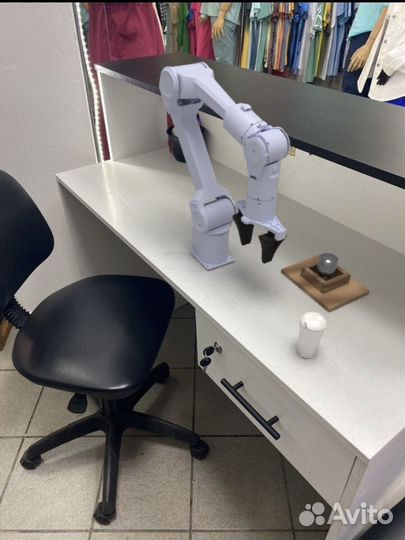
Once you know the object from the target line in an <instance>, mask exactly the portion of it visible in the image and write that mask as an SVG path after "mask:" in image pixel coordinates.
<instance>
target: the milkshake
mask: <svg viewBox="0 0 405 540" xmlns="http://www.w3.org/2000/svg"><path fill="white" fill-rule="evenodd" d="M299 318H300V319H299V330H298V332H299V333H298V342H297V354H298V355H299V356H300V357H301V358H304V359H306V360H307V359H313V357H314V356H315V355H316V353H317V350H318V348H319V345H320V342H321V339H322V337H323V335H324V332H325V330H326V328H327V326H328V323H327V322H328V321H327V320H326V318H325V316H323V315H322V314H321V313H319V312H318V311H317V312H316V311H307V312H305V313H303V314H302V315H300V317H299Z"/></svg>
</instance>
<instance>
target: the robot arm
mask: <svg viewBox="0 0 405 540" xmlns="http://www.w3.org/2000/svg"><path fill="white" fill-rule="evenodd" d="M214 73H215V72H214V69H212V68H210V67H209V65H208V64H207V63H205V62H204V61H199V62H196V63H190V64H183V65H175V66H165V67H164V68H162V70H161V73H160V75H159V76H160V77H159V85H158V89H159V92H160V94H161V95H160V96H161V98H162V101H163V104H164V107H165V109H166V112H167V114H168V115H170V118H171V120H172V123H173V126H174V129H175V133H176V135H177V139H178V142H179V144H180V147H181V148H180V149H181V150H182V154H183V157H184V159H185V162H186V165H187V169H188V171H189V175H190V177H191V180H192V184H193V186H194V189H195V192H194V194H193V196H192V198H191V200H190V201H189V203H188V204H189V205H188V206H189V210H190V218H191V223H192V225H193V228H192V249H189V252H190V254H191V255H192V256H193V257H194V258H195V259H196V260H197V261H198V262H199V263H200V264H201V265H202V266H203V267H204V268H205V269H206V270H208V271H210V270H211V271H212V270H214V269H217V268H218V267H222V266H225V265H229V264H231V263H233V262H234V263H235V261H236V259H235V258H234V257H233V256H232V255H231V254H230V252H229V244H230V243H229V242H230V228H231V227H232V225H233V222H234V223H235V225H236V229H237V231H238V236H239V241H240V244H241V246H242V247H244V246H246V245H250V244H251V243H252V239H253V234H254V228H255V227H258V228H260V229H261V228H262V229H263V230H265V231H267V233H263V234H260V235H258V240H259V243H260V248H261V254H260V255H261V263H262V264H267V263H270V262H272V260H273V259H274V257H275V254H276V252H277V250H278V249H279V248H280V246H281V245H282V243H283V242H284V241H285V240H286V239H287V237H288V234H287V231H288V230H287V229H286V228H285V226H283V225H282V223H281V222H280V221H281V220H280V219H278V217H277V215H276V214H275V213H276V212H275V211H276V204H277V196H278V188H279V181H280V174H281V173H280V172H281V167H282V160H283V159H286V157H288V155H289V153H290V150H291V149H290V148H291V141H290V138H289V136H288V134H287V132H285V130H284V128H283V127H280V126H272V125H268V123H267V122H266V121H264V120H263V119H262V118H260V116H259V115H257V114H256V113H255V112H254V110H252V106H251V105H250V104H249V103H245V102H244V103H243V102H240V103H236V102H235V101H234V100H233V99H232V98H231V96H230V95H229V94H228V93H227V92H226V91H225V90H224V89H223V88H222V86H221V85H220V84H219V83H218V82H217V80H216V79H215V74H214ZM204 104H205V105H207V106H208V107H209V108H210V109H211V110H212V111H214V112H215V114H217V115H219V116H220V117H221V119H222V120H223V121H222V125H223V126H222V127H223V128H224V130H226V132H227V133H228V134H229V135H230V136H231V137H232V138H233V139H234V140H235V141H236V142H237V143H238V144H239V145H240V146H241V147H242V151H243V155H244V159H245V162H246V170H247V171H246V172H247V174H248V177H247V178H248V180H247V191H246V199H244V198H242V199H239V200H236V201H235V200H233V198H232V196H231V194H230V190H229V189H228V188H226V187H224V186H221V185H220V184H219V183H218V180H217V178H216V177H217V176H216V174H215V171H214V168H213V165H212V161H211V158H210V155H209V153H208V150H207V146H206V143H205V139H204V136H203V133H202V129H201V127H200V124H199V121H198V118H197V114H198V110H199V109H201V108H202V106H203V105H204ZM213 199H214V200H213ZM210 200H211V201H210Z"/></svg>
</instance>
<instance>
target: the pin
mask: <svg viewBox="0 0 405 540" xmlns="http://www.w3.org/2000/svg"><path fill="white" fill-rule="evenodd" d="M319 255H320V257H319V261H318V266H317V270H316V274H317V275H318V276H319V277H321V278H322V279H323V280H325V281H328V280H330V279H333V278H334V275H335V271H336V267H337V265H338V263H339V258H338V256H336V255H335V254H333V253H330V252H329V253H328V252H324V253H321V254H319Z"/></svg>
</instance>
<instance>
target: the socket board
mask: <svg viewBox="0 0 405 540" xmlns="http://www.w3.org/2000/svg"><path fill="white" fill-rule="evenodd" d="M320 255H321V254H317V255H314V256H312V257H309V258H307V259H304V260H302V261H299V262H296V263H294V264H291V265H289V266H286V267H283V268H281V269H280V273H281V274H282V275H284V276H285V277H286V278H287V279H288V280H289V281H291V283H293V284H294V285H295V286H297V288H298V289H300V290H301V291H302V292H304V294H306V295H307V296H309V297H310V298H311V299H312V300H313V301H315V302H316V303H317V304H318V305H319V306H321V308H323V309H324V310H325V311H327V312H328V313H331V312H333V311H335V310H338V309H340V308H342V307H344V306H346V305H348V304H350V303H352V302H354V301H356V300H359V299H361V298H363V297H365V296H367V295H369V294H370V291H371V290H369V289H368V288H367V287H365V286H364V285H363V284H362V283H360V282H358V281H357V280H355V279H354V278H353V277H352V274H351V273H350V272H348V271H347V270H345V269H344V268H342V267H341V266H339V265H338V264H337V267H336V271H335V275H334V278H333V279H330V280H328V281H325V280H323V279H322V278H321V277H319V276H318V275H317V274H316V270H317V266H318V261H319V257H320Z"/></svg>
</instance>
